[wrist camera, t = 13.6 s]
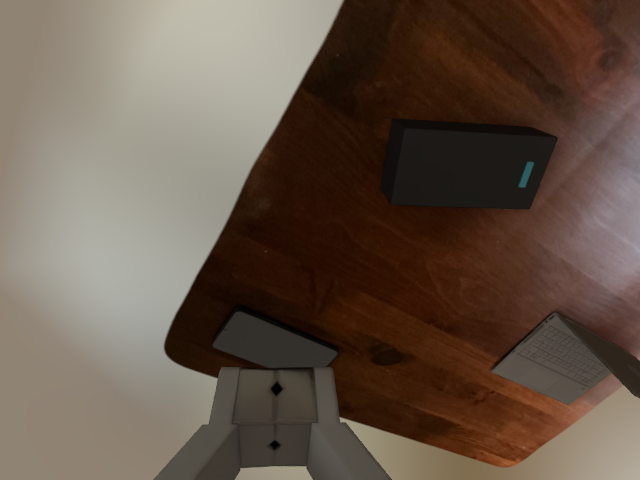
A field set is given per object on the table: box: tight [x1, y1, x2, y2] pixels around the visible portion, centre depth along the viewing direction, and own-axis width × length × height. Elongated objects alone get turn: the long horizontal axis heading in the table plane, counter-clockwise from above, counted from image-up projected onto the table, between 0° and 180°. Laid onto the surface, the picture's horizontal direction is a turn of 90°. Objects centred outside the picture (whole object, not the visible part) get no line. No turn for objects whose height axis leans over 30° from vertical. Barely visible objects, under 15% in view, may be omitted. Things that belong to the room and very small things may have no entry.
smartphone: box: [212, 307, 338, 368], centre depth 46 cm, size 7×1×15 cm
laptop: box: [491, 312, 640, 405], centre depth 48 cm, size 18×13×13 cm
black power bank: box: [380, 119, 558, 209], centre depth 34 cm, size 4×7×14 cm
